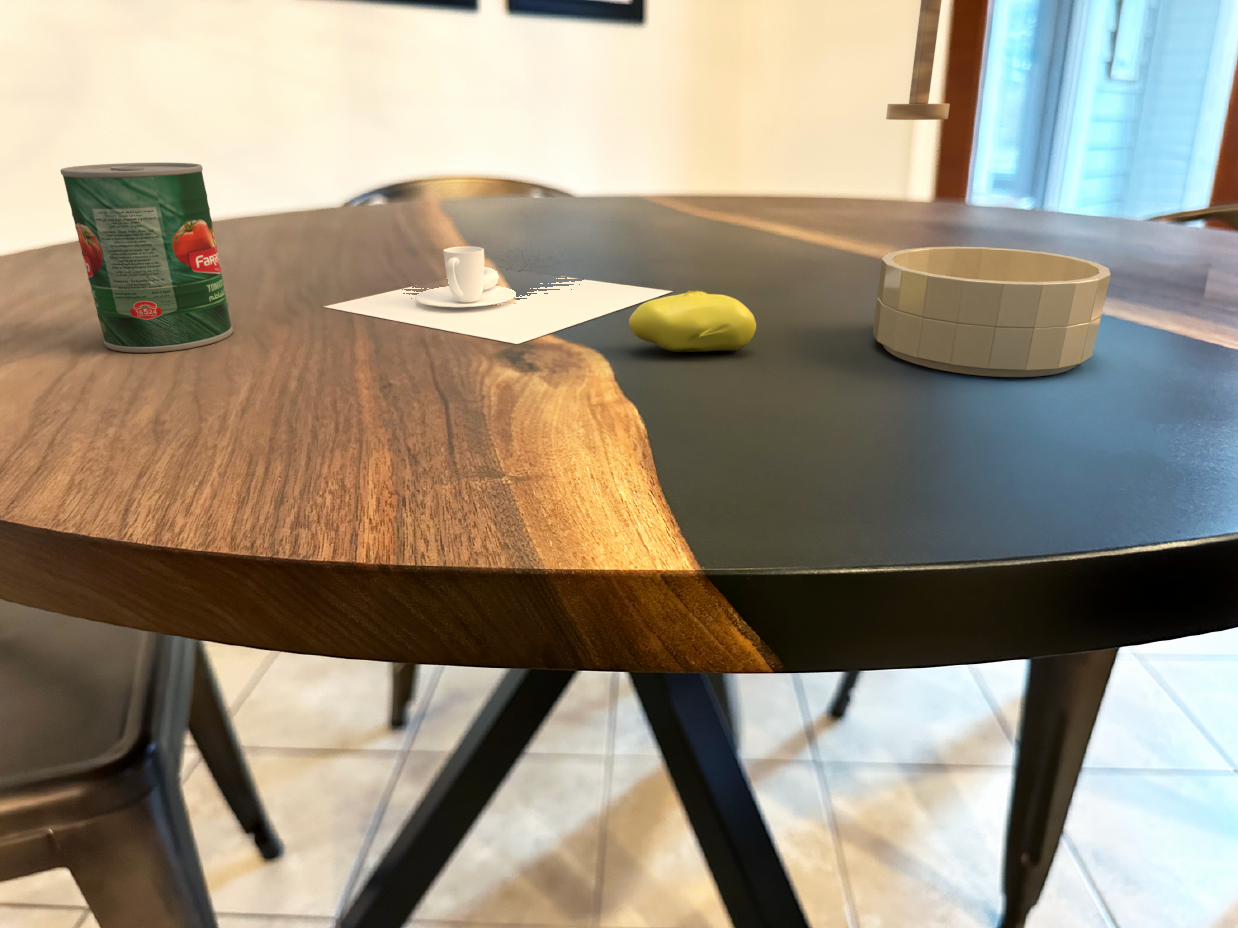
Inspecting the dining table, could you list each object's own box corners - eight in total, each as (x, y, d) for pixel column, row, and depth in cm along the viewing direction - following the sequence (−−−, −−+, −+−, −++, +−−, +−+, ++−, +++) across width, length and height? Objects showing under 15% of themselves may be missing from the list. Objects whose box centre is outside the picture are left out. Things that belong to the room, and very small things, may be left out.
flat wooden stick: (929, 118, 74) (955, -85, 68) (959, 119, 69) (990, -98, 63) (875, 119, 73) (897, -86, 67) (903, 120, 69) (929, -100, 63)
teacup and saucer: (471, 285, 73) (468, 237, 71) (543, 296, 68) (541, 245, 67) (394, 304, 66) (388, 252, 64) (468, 317, 62) (463, 261, 60)
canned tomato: (250, 338, 57) (219, 166, 52) (120, 360, 52) (74, 173, 48) (212, 318, 62) (181, 160, 58) (92, 335, 57) (48, 166, 53)
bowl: (1008, 322, 60) (1022, 244, 58) (1139, 374, 49) (1163, 279, 47) (841, 330, 58) (849, 249, 56) (935, 386, 47) (950, 287, 44)
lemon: (758, 361, 51) (762, 298, 50) (627, 360, 52) (627, 297, 50) (751, 343, 55) (755, 284, 54) (630, 342, 55) (630, 283, 54)
